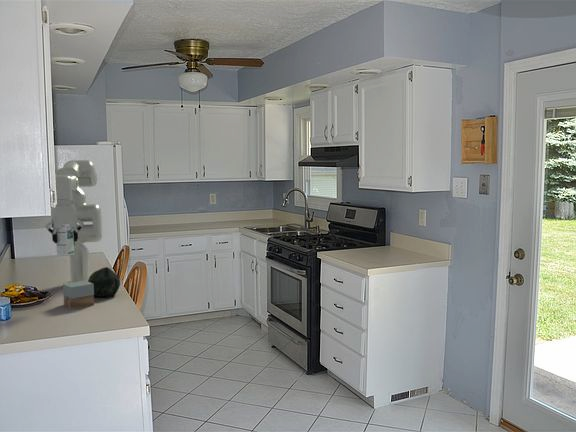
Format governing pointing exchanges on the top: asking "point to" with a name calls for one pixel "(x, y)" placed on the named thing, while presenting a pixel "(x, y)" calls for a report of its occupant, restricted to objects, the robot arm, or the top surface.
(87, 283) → the top block
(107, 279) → the squash
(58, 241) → the syrup box
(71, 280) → the robot arm
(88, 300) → the bottom block
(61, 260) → the top surface
